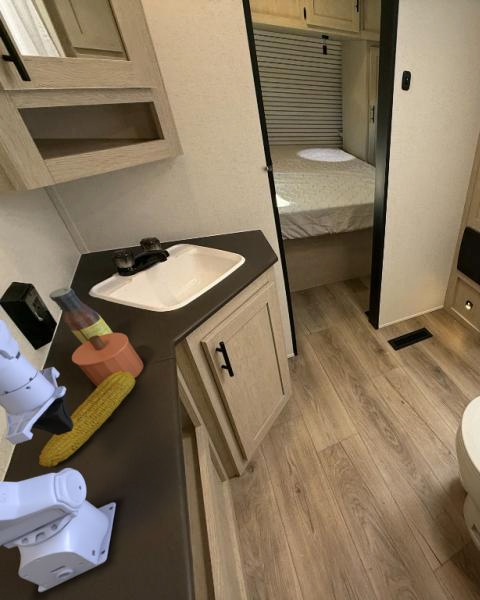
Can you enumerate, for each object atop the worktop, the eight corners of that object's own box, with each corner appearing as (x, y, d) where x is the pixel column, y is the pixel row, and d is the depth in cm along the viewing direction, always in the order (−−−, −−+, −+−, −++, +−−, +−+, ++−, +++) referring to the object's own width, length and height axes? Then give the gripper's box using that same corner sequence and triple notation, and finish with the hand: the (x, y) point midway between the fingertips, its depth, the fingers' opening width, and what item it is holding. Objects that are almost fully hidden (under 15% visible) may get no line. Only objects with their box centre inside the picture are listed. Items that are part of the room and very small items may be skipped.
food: (121, 383, 77) (108, 366, 74) (144, 384, 77) (132, 367, 74) (40, 472, 60) (18, 456, 57) (69, 473, 60) (49, 457, 57)
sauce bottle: (126, 341, 89) (86, 282, 77) (116, 357, 84) (71, 297, 72) (99, 345, 88) (54, 285, 76) (87, 362, 83) (37, 300, 71)
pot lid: (126, 357, 73) (117, 345, 71) (69, 374, 69) (57, 361, 67) (132, 331, 81) (124, 318, 78) (80, 344, 77) (70, 331, 74)
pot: (141, 379, 78) (124, 355, 73) (91, 395, 74) (69, 370, 69) (145, 354, 85) (129, 330, 80) (99, 367, 81) (80, 342, 76)
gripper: (29, 406, 46) (83, 455, 54) (59, 343, 56) (101, 392, 64) (-40, 426, 43) (28, 475, 51) (5, 357, 53) (56, 406, 61)
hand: (65, 430), depth 57 cm, fingers closed
